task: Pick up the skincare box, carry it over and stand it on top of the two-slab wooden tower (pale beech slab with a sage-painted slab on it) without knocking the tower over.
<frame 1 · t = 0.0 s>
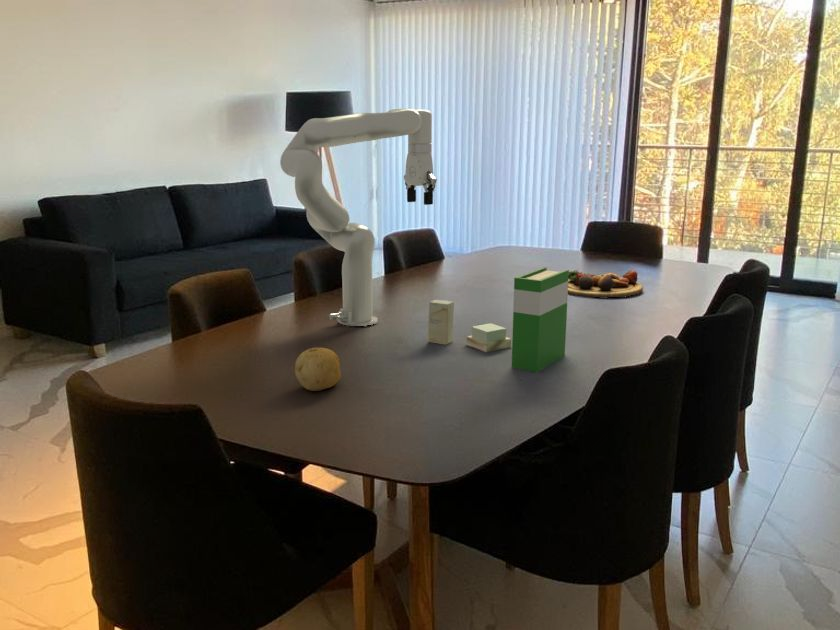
hand: (419, 203, 253), 37 cm above the table, tool pointing down, fingers open, 9 cm apart
potato: (318, 388, 189), on the table
tower top: (488, 337, 223), point 2 cm above the table
hardback book: (538, 361, 210), on the table
wooden plate with food: (599, 291, 298), on the table
skincare box: (440, 342, 228), on the table
tower base: (488, 347, 224), on the table
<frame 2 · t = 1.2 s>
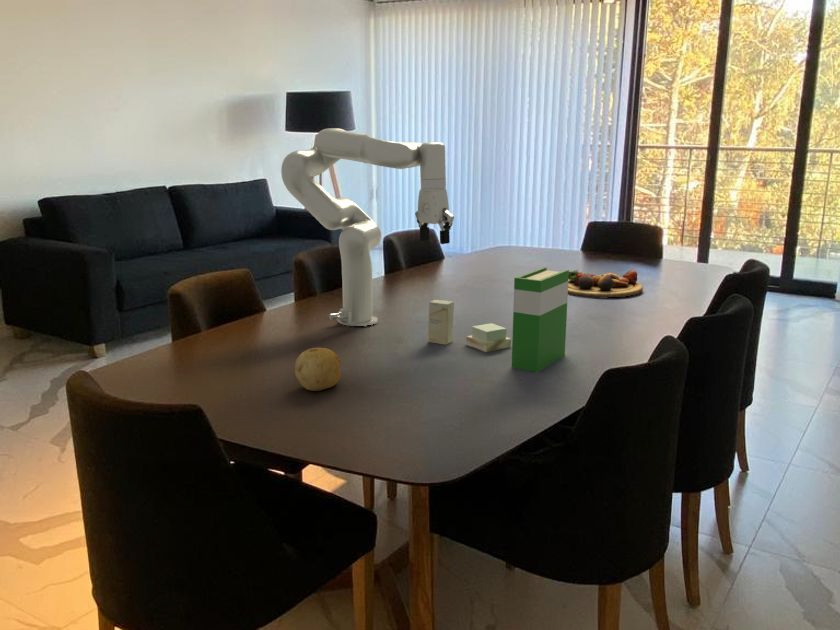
hand: (434, 241, 235), 27 cm above the table, tool pointing down, fingers open, 9 cm apart
tower top: (489, 337, 223), point 2 cm above the table, touching tower base
tower base: (488, 347, 224), on the table, touching tower top
everything else where it was.
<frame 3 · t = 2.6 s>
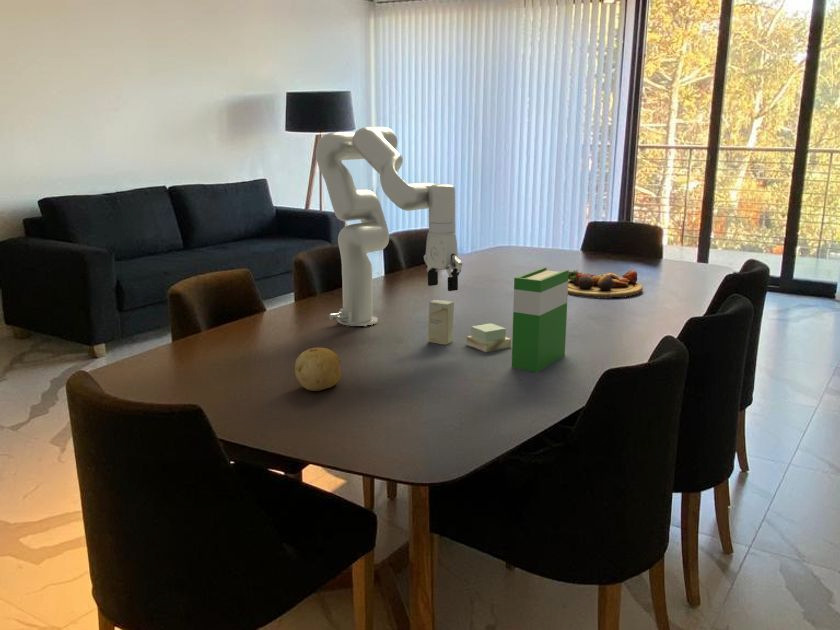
hand: (442, 287, 223), 16 cm above the table, tool pointing down, fingers open, 9 cm apart
nothing on the table moved.
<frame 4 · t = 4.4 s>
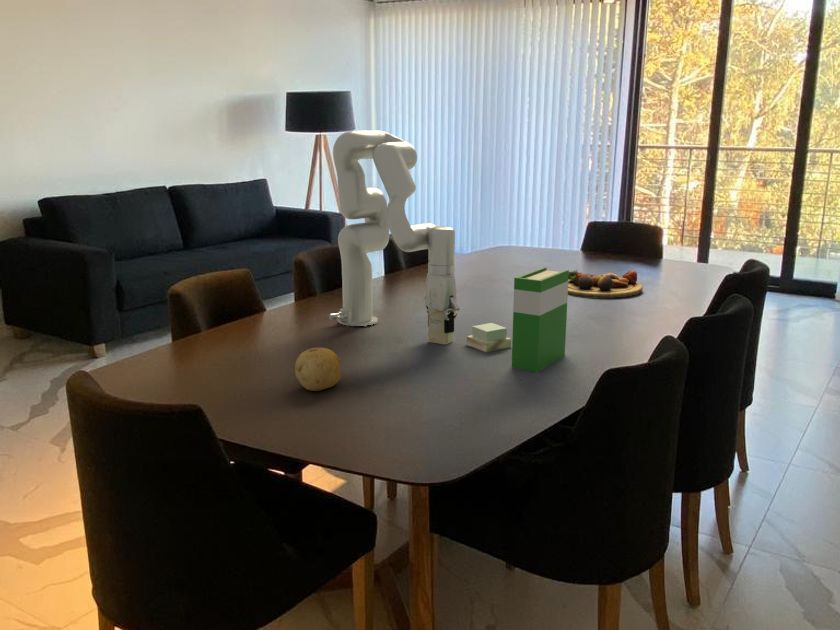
hand: (440, 329, 227), 4 cm above the table, tool pointing down, fingers closed on skincare box, 7 cm apart
skincare box: (440, 342, 228), on the table, touching gripper
everything else where it was.
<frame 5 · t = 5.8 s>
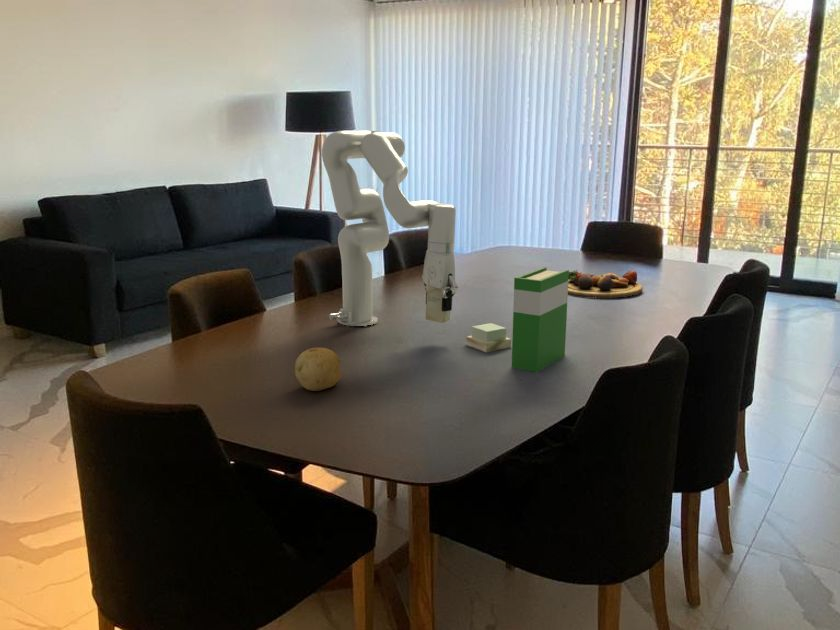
hand: (438, 307, 226), 10 cm above the table, tool pointing down, fingers closed on skincare box, 7 cm apart
skincare box: (438, 320, 227), point 6 cm above the table, touching gripper
everything else where it was.
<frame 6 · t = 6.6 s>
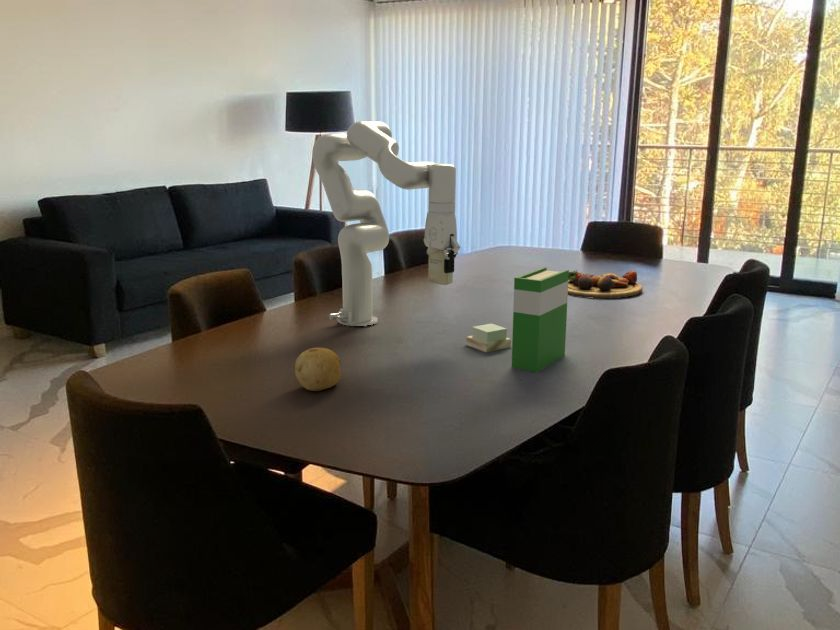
hand: (440, 269, 223), 21 cm above the table, tool pointing down, fingers closed on skincare box, 7 cm apart
tower top: (489, 337, 223), point 2 cm above the table
skincare box: (440, 283, 224), point 17 cm above the table, touching gripper
tower base: (488, 347, 224), on the table
everything else where it was.
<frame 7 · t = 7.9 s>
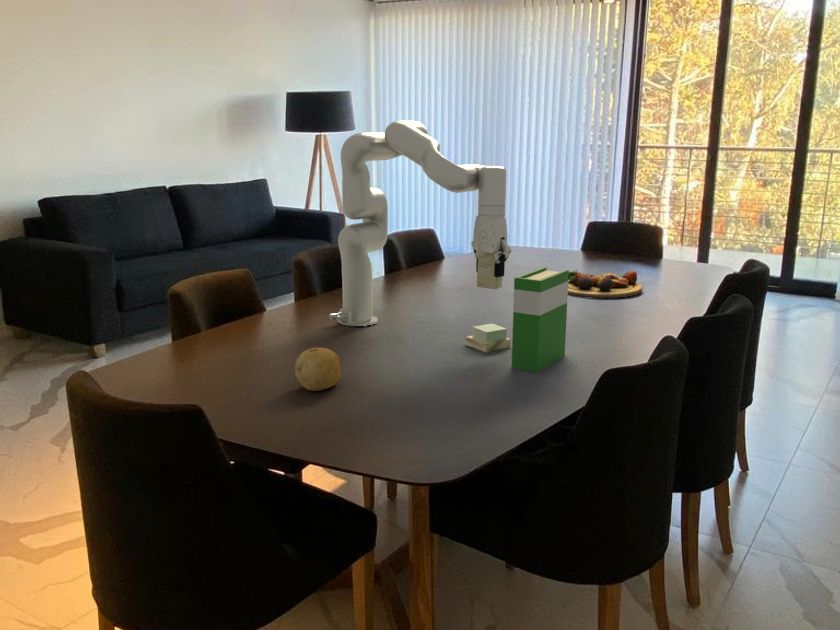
hand: (490, 273, 219), 21 cm above the table, tool pointing down, fingers closed on skincare box, 7 cm apart
tower top: (489, 337, 223), point 2 cm above the table, touching tower base
skincare box: (489, 287, 220), point 17 cm above the table, touching gripper
tower base: (487, 347, 224), on the table, touching tower top
everything else where it was.
when the fingers open (11 cm above the table, at t = 10.6 s): skincare box drops 1 cm, resting on tower top.
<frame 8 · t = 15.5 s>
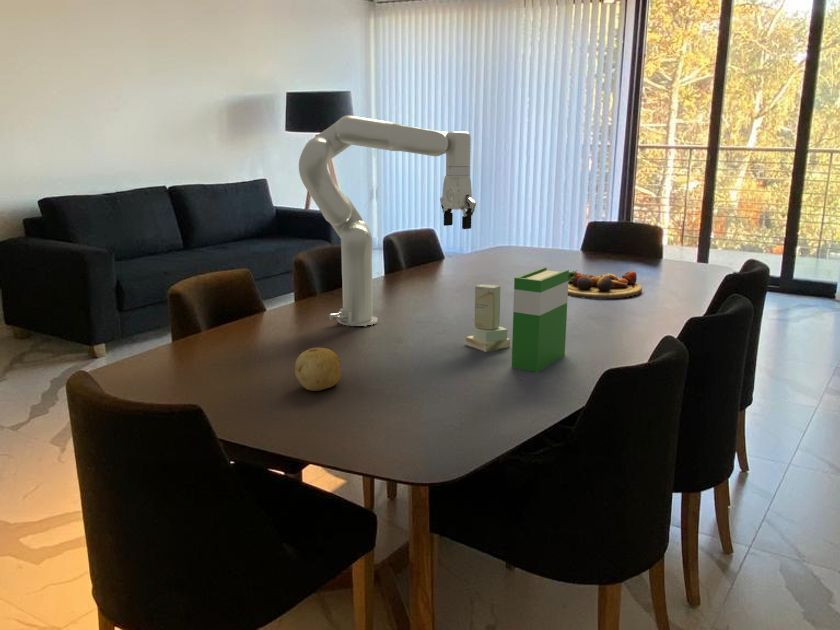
hand: (457, 227, 245), 30 cm above the table, tool pointing down, fingers open, 9 cm apart
tower top: (490, 338, 223), point 2 cm above the table, touching skincare box, tower base
skincare box: (487, 328, 223), point 5 cm above the table, touching tower top
at the end: skincare box inside the target area on the tower base (0.2 cm from its centre), point 5.9 cm above the tower base's base; skincare box tilted 3°; tower top moved 0.8 cm from its start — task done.
